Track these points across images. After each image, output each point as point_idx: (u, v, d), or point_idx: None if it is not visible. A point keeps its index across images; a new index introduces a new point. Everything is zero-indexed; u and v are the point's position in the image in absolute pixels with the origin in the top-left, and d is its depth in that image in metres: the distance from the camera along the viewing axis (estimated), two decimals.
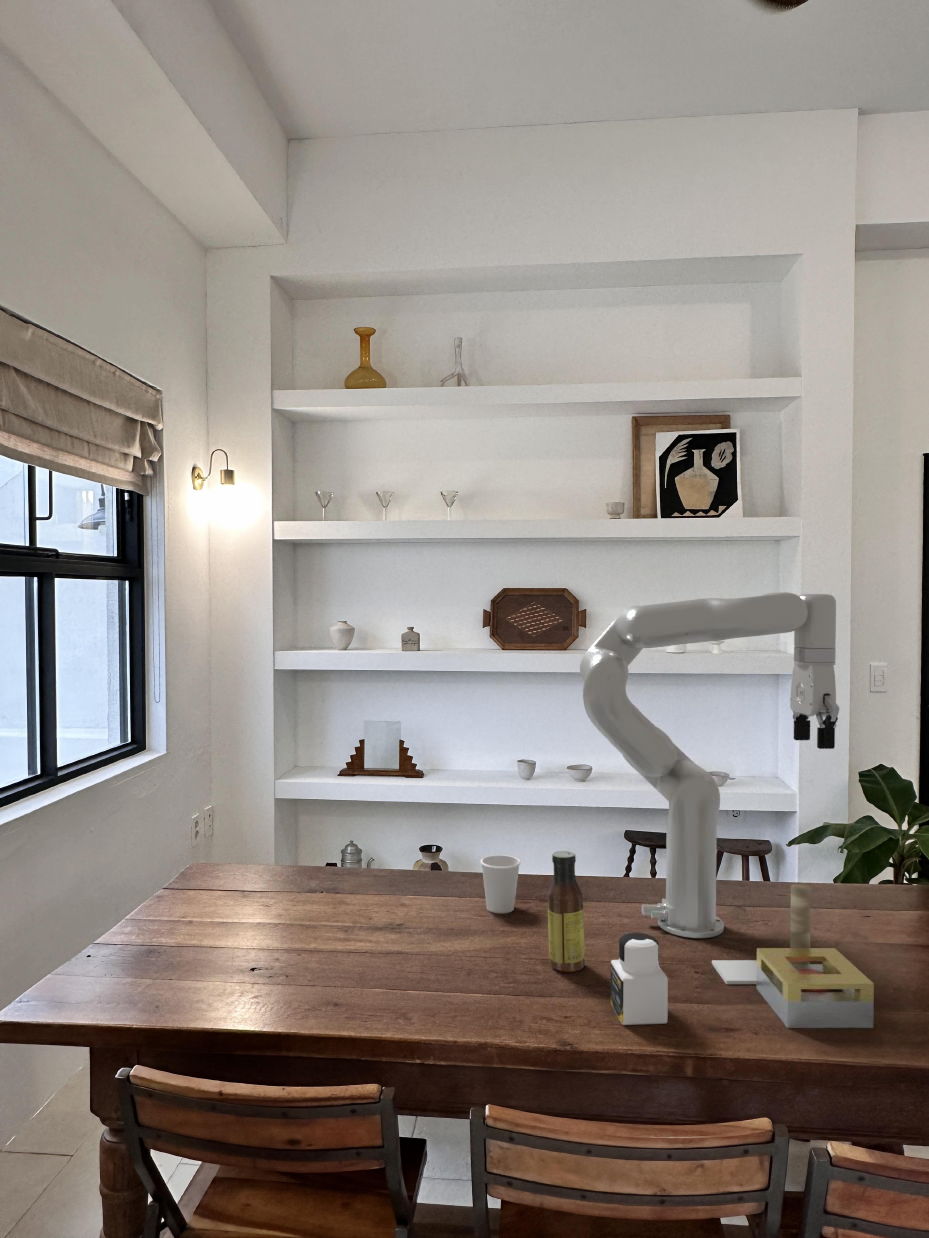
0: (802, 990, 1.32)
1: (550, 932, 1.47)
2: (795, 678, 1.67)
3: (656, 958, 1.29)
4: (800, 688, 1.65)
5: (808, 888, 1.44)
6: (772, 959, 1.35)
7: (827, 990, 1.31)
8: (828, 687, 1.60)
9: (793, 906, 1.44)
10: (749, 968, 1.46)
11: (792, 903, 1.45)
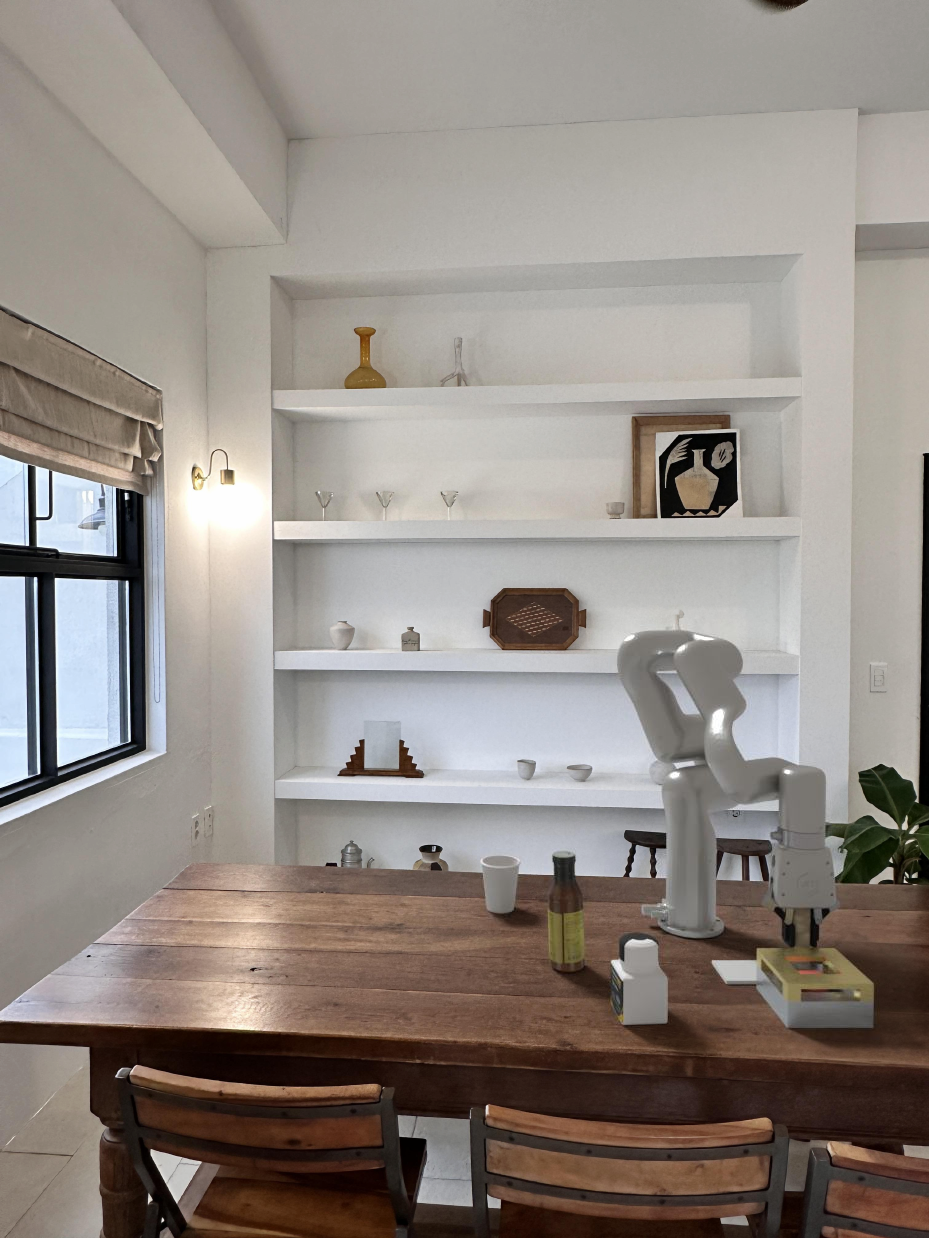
0: (802, 990, 1.32)
1: (550, 932, 1.47)
2: (795, 869, 1.42)
3: (656, 958, 1.29)
4: (806, 879, 1.42)
5: None
6: (772, 959, 1.35)
7: (827, 990, 1.31)
8: None
9: None
10: (749, 968, 1.46)
11: None
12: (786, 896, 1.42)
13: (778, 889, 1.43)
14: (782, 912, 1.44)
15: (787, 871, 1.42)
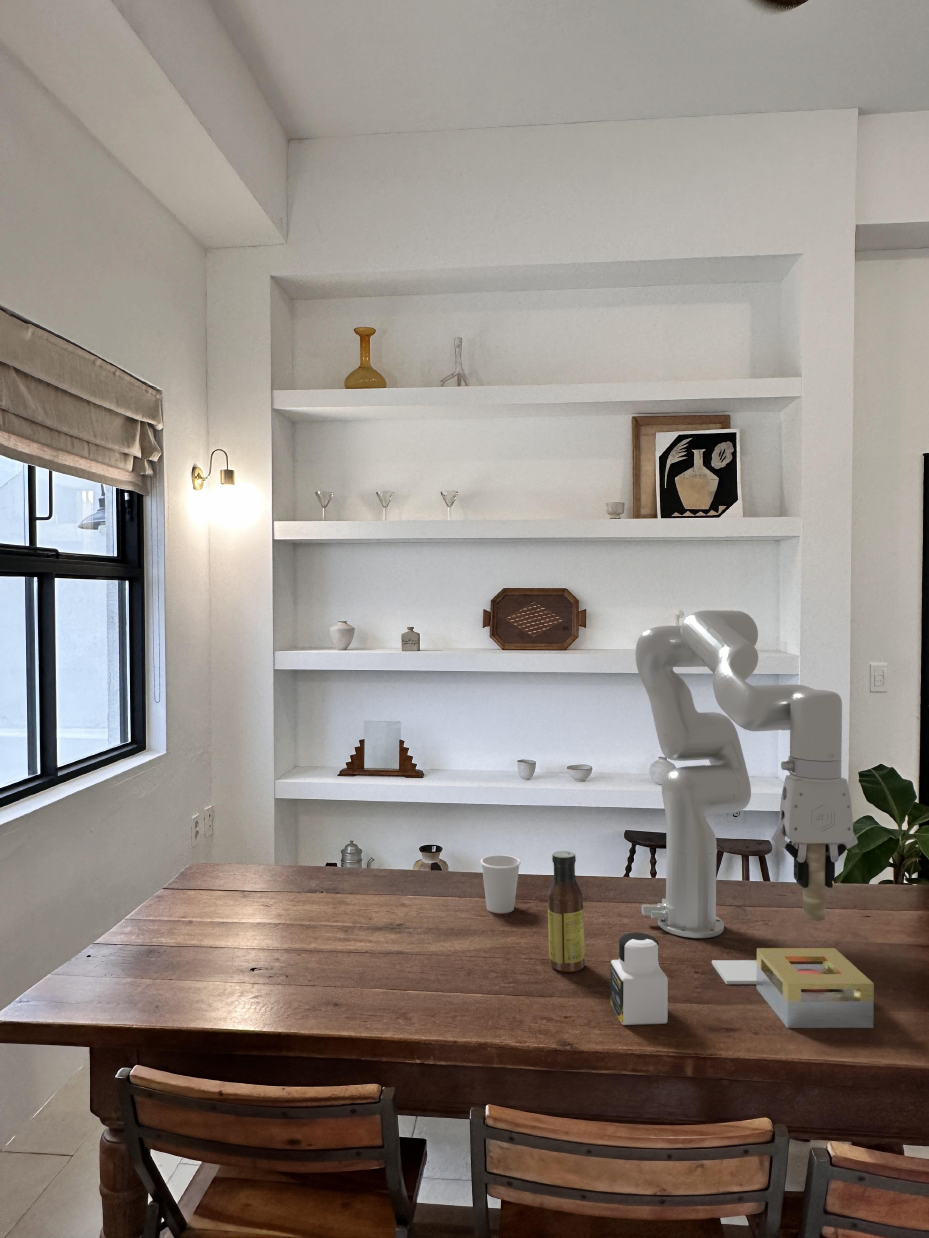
0: (802, 990, 1.32)
1: (550, 932, 1.47)
2: (808, 801, 1.30)
3: (656, 958, 1.29)
4: (821, 812, 1.30)
5: None
6: (772, 959, 1.35)
7: (827, 990, 1.31)
8: None
9: None
10: (749, 968, 1.46)
11: None
12: (799, 830, 1.30)
13: (790, 823, 1.30)
14: (794, 849, 1.32)
15: (800, 803, 1.30)
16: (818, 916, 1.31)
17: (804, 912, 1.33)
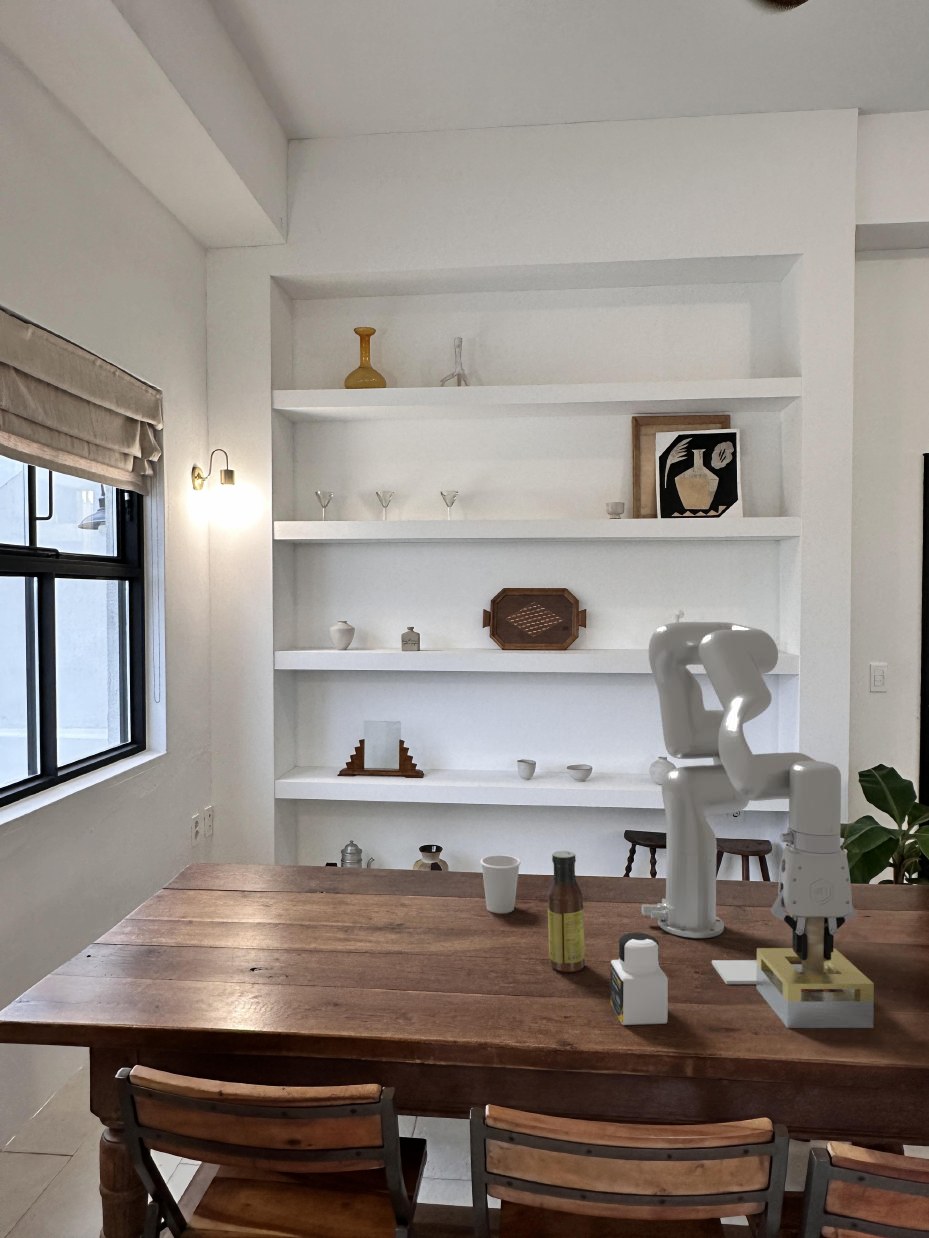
0: None
1: (550, 932, 1.47)
2: (807, 874, 1.30)
3: (656, 958, 1.29)
4: (819, 885, 1.30)
5: None
6: (772, 959, 1.35)
7: None
8: None
9: None
10: (749, 968, 1.46)
11: None
12: (798, 904, 1.30)
13: (789, 896, 1.30)
14: (793, 921, 1.32)
15: (799, 877, 1.30)
16: None
17: None
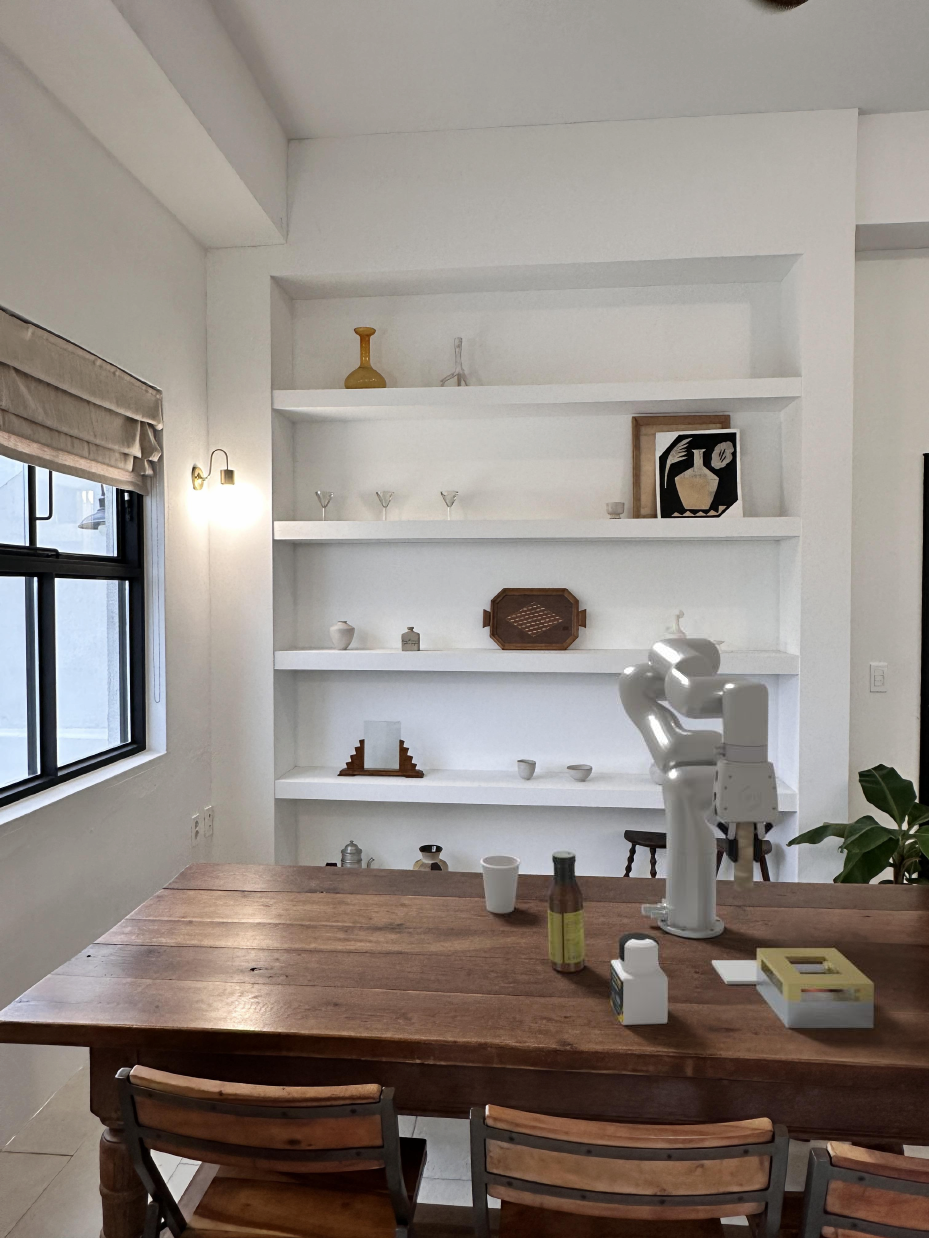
0: None
1: (550, 932, 1.47)
2: (737, 783, 1.42)
3: (656, 958, 1.29)
4: (748, 793, 1.42)
5: None
6: (772, 959, 1.35)
7: None
8: None
9: None
10: (749, 968, 1.46)
11: None
12: (728, 810, 1.42)
13: (720, 803, 1.42)
14: (725, 827, 1.44)
15: (729, 785, 1.42)
16: (746, 888, 1.43)
17: (734, 885, 1.44)
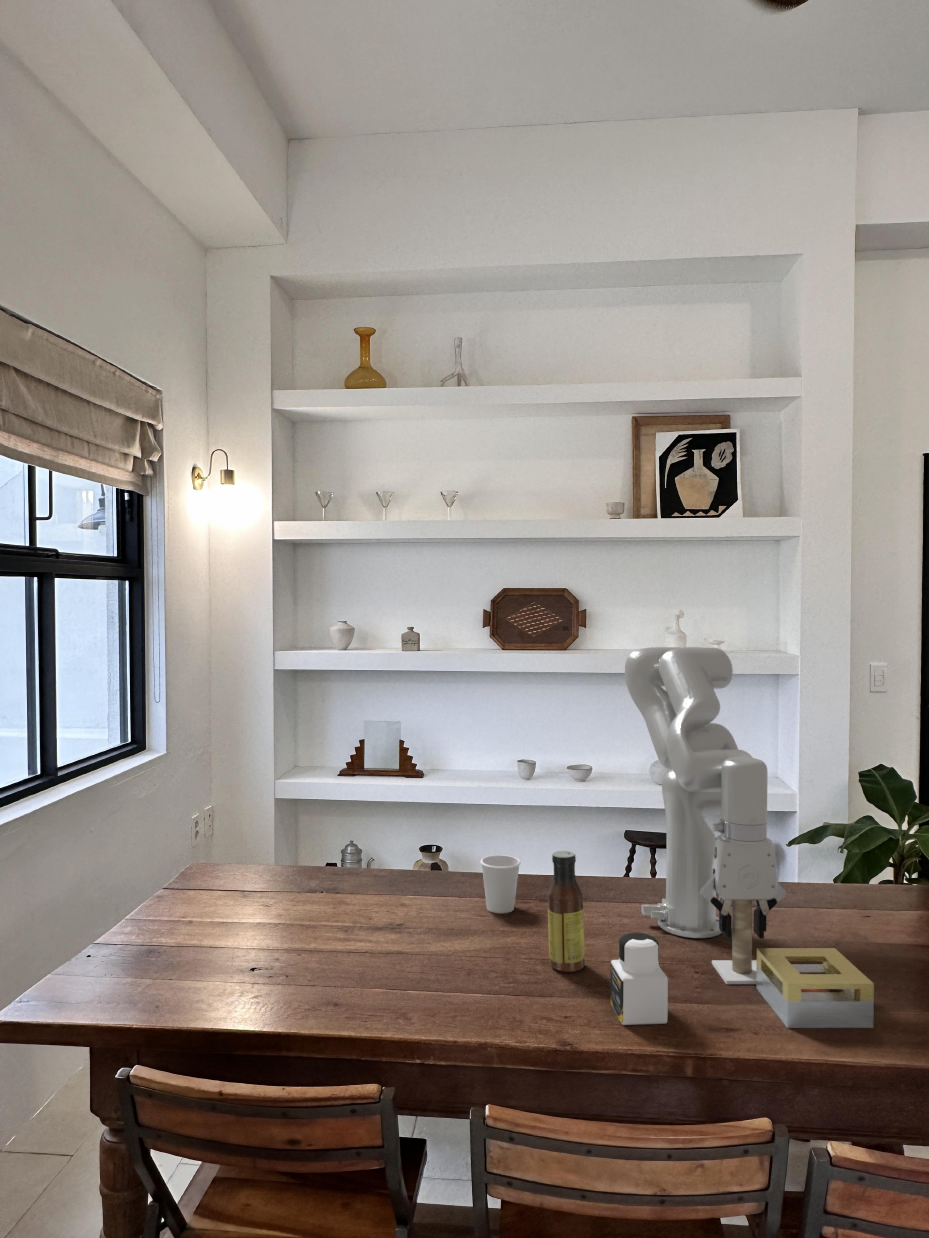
0: None
1: (550, 932, 1.47)
2: (736, 861, 1.42)
3: (656, 958, 1.29)
4: (747, 871, 1.42)
5: None
6: (772, 959, 1.35)
7: None
8: None
9: (734, 902, 1.44)
10: None
11: (733, 900, 1.44)
12: (727, 888, 1.42)
13: (719, 881, 1.42)
14: (719, 903, 1.44)
15: (728, 863, 1.42)
16: (745, 970, 1.44)
17: (733, 966, 1.45)
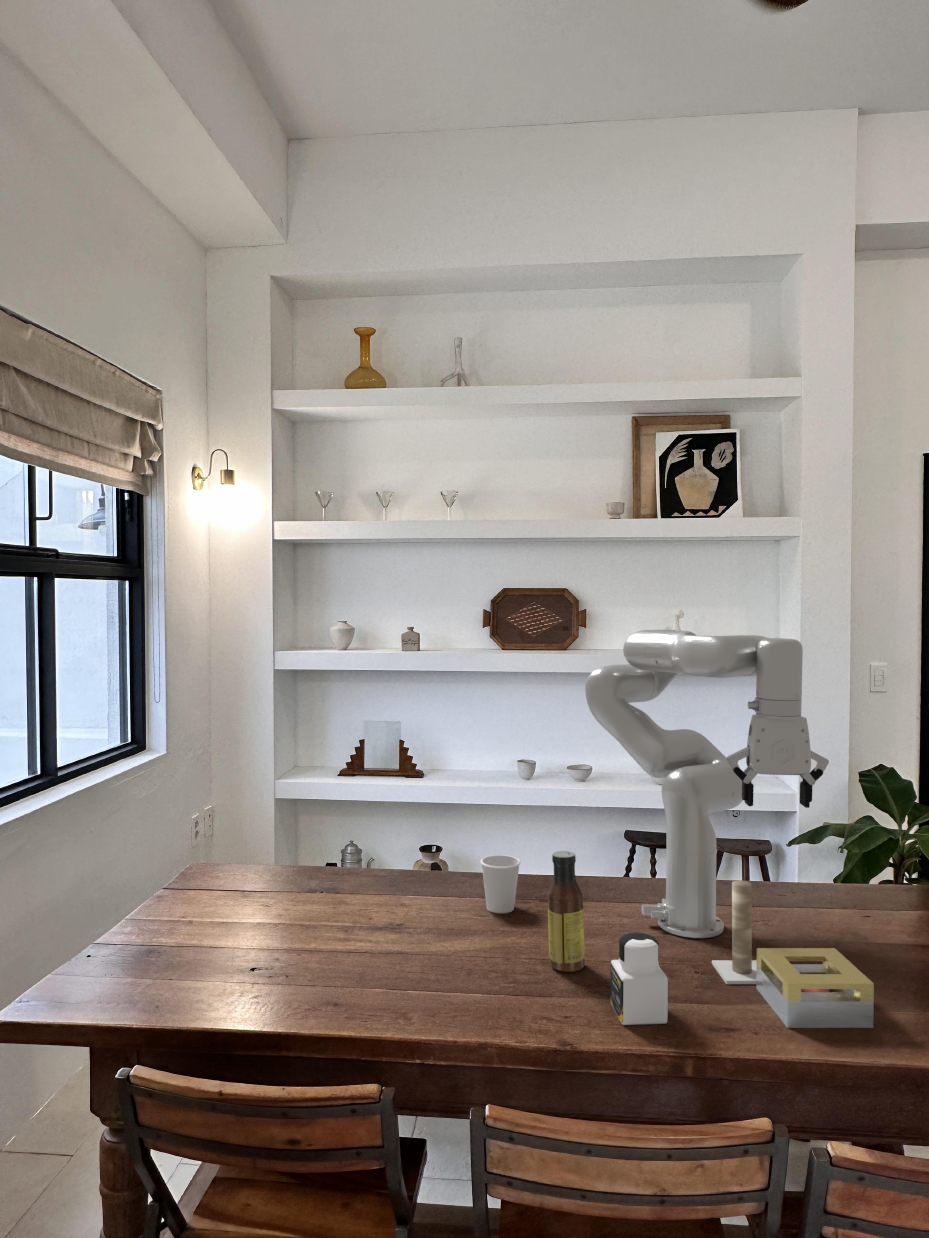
0: None
1: (550, 932, 1.47)
2: (770, 736, 1.46)
3: (656, 958, 1.29)
4: (781, 746, 1.46)
5: (749, 884, 1.44)
6: (772, 959, 1.35)
7: None
8: None
9: (734, 902, 1.44)
10: None
11: (733, 900, 1.44)
12: (761, 762, 1.46)
13: (753, 755, 1.46)
14: (741, 772, 1.48)
15: (762, 738, 1.46)
16: (745, 970, 1.44)
17: (733, 966, 1.45)
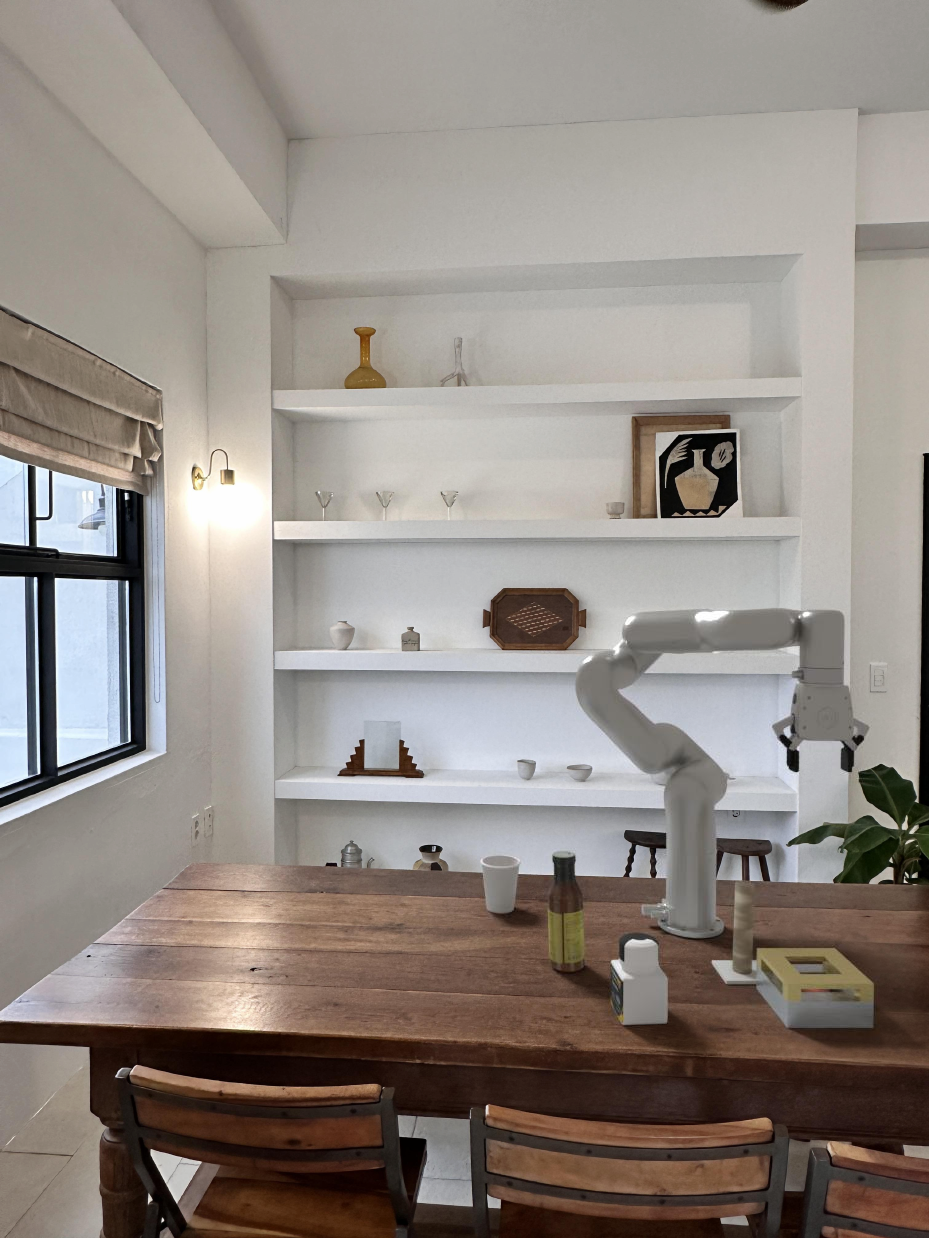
0: None
1: (550, 932, 1.47)
2: (815, 703, 1.51)
3: (656, 958, 1.29)
4: (826, 713, 1.51)
5: (752, 885, 1.44)
6: (772, 959, 1.35)
7: None
8: None
9: (737, 902, 1.44)
10: None
11: (736, 900, 1.44)
12: (807, 729, 1.51)
13: (799, 722, 1.51)
14: (787, 739, 1.53)
15: (808, 705, 1.51)
16: (745, 970, 1.44)
17: (733, 966, 1.45)
